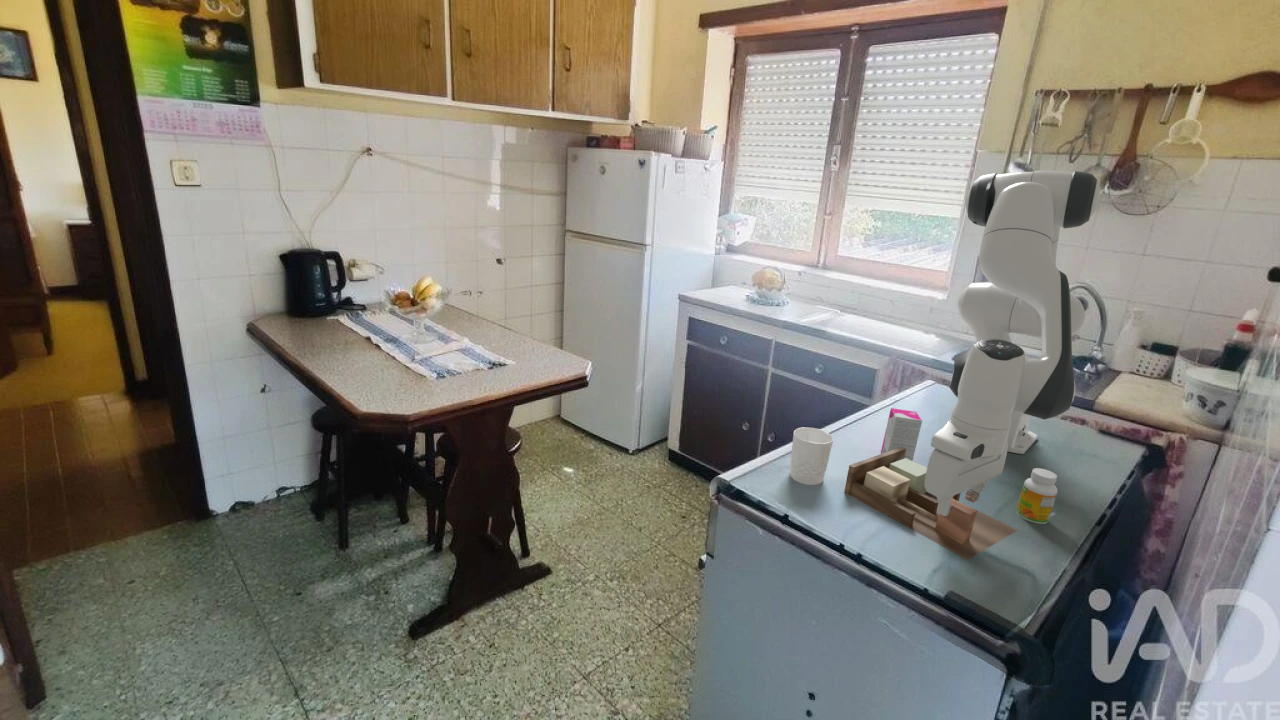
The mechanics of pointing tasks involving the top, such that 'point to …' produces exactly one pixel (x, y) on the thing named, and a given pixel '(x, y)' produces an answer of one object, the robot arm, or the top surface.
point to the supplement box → (902, 432)
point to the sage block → (911, 473)
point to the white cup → (810, 455)
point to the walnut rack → (983, 529)
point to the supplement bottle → (1038, 496)
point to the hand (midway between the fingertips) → (957, 506)
